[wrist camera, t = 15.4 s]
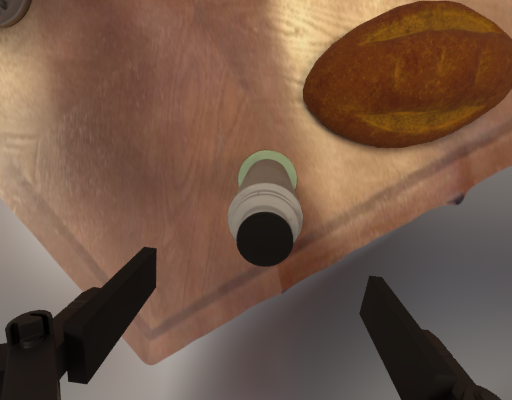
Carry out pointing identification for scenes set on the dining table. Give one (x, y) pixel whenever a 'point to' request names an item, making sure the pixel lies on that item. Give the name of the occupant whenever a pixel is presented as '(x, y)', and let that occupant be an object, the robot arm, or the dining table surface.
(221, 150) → the dining table surface
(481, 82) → the bread
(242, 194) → the thermos bottle
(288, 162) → the trivet
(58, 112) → the dining table surface
